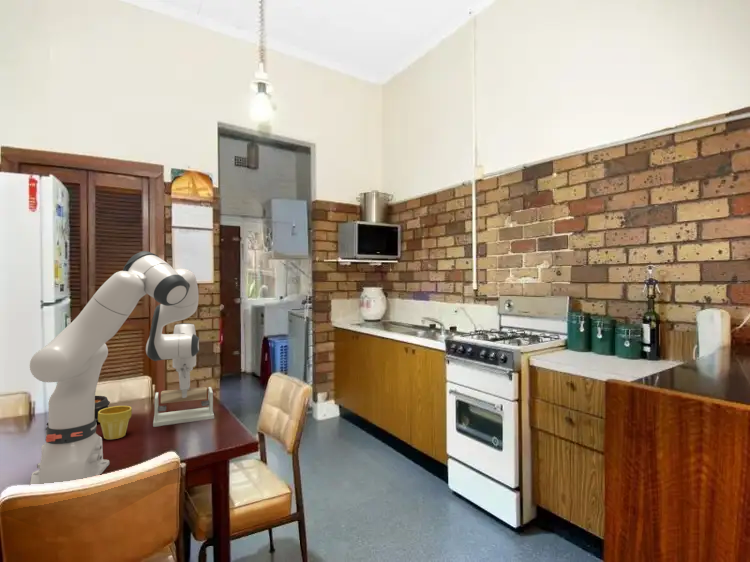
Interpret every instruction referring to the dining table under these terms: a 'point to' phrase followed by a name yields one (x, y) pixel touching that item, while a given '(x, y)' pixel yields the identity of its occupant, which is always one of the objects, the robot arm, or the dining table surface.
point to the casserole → (99, 405)
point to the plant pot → (114, 421)
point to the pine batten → (177, 395)
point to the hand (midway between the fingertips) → (184, 395)
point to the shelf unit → (184, 413)
